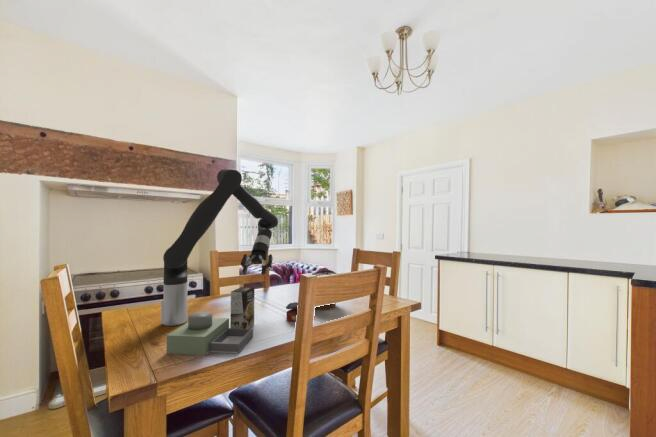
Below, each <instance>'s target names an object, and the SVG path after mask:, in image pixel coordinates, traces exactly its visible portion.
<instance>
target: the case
mask: <svg viewBox="0 0 656 437" xmlns="http://www.w3.org/2000/svg"><path fill="white" fill-rule="evenodd" d="M331 274H338V273H336V272H335V271H334V270H330V269H320V270H318V271H315V272H314V273H312V274H311V275H317V276H320V275H331ZM336 304H337V302H336V303H335V304H330V305H324V306H320V307H316V308H315V309H314V310H315V311H329V310H332V309H334V308H335V307H336Z"/></svg>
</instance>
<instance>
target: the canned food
mask: <svg viewBox="0 0 656 437" xmlns="http://www.w3.org/2000/svg"><path fill="white" fill-rule="evenodd" d="M298 303H299V302H295V301H294V302H290V303H288V304H287V305H286V306H285V309H286V310H287V311H286V320H287V321H288V322H292V323H297V322H296V315H297V305H298Z"/></svg>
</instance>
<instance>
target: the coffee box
mask: <svg viewBox="0 0 656 437" xmlns="http://www.w3.org/2000/svg"><path fill="white" fill-rule="evenodd" d="M253 326H255V287H252V286H241V287H238V288H235V289H234V290H231V291H230V323H229V328H239V329H252V327H253Z"/></svg>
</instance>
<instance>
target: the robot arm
mask: <svg viewBox="0 0 656 437" xmlns="http://www.w3.org/2000/svg"><path fill="white" fill-rule="evenodd" d="M242 178H243V177H242V173H241V172H240V171H239V170H237V169H233V168H223V169H220V170H219V171H218V173H217V174H216V180H217V182H218V185H217V187H216V188H215V189H214V190H213V191H212V193H211V194H209V195H208V196H207V197H205V199H203V200H202V201H201V202H200V203H199V204H198V205H197V206H196V208H195V209H194V211H193V212H192V214H191V216H190V217H189V218H188V220H187V222H186V224H185V226H184V228H183V230H182V232H181V233H180V235H179V236H178V238H176V240H175V241H174V242H173V243H172V244H171V246H169V247H168V248H167V249H166V250H165V251H164V254H163V258H162V259H163V301H161V303H160V304H161V306H160V325H163V326H167V327H170V326H171V327H172V326H179V325H180V326H181V325H182V324H183V325H184V324H186V323H188V259H189V257H190V254H191V252H192V251H193V249H194V248H195V246H196V244H197V243H198V242H199V240H201V238H202V237H203V236H204V235H205V234H206V232H207V231H208V229H209V228H210V227H211V226H212V224H213V223H214V222H215V220H216V219H217V217H218V215H219V213H220V212H221V211H222V209H223V208H224V206H225V205H226V204H227V201H228V200H229V199H230V197H231V196H232V195H233V197H234V198H236V199H237V201H238V202H240V203H241V205H242V206H243V207H244V208H245V209H246V210H247V212H249V213H250V214H251V215H252V217H253V218H255V219H258V222H257V235H256V238H255V239H254V243H253V245H252V249H251V253H250V255H247V253H246V254H243V257H242V259H241V262H240V265H241V267H242V270H241V271H242V274H243V275H247V272H248V269H249V268H250V267H251V266H253V265H261V264H262V268H261V272H260V273H261V275H262V276H264V275H265V274H266V273H267V272H266V271H267V270H268V269H269V268H272V264H273V258H274V257H273V255H272V254H271V253H270V254H269V255H268V252H269V248H270V245H271V239H272V234H273V232H272V230H271V229H274V228H276V227H277V226H278V225H279V220H278V218H277V216H276V215H275V214H274V213H272V212H271V211H269V210H268V209H266V208H265V207H264V206H263V205H262V204H261V203H260V201H259V200H258V199H256V197H254V196H253V195H252V194H251V193H250V192H248V191H247V190H246V189H245V188H244V187H243V186H242V185H241V184H242V181H243V179H242ZM266 260H268V261H267V263H266Z"/></svg>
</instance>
